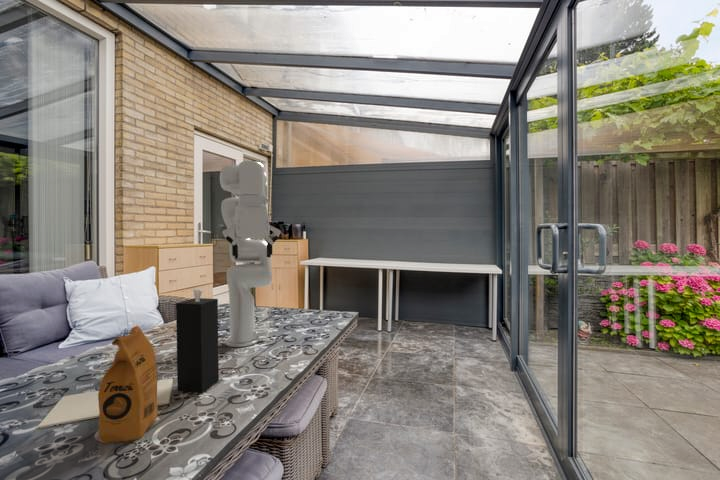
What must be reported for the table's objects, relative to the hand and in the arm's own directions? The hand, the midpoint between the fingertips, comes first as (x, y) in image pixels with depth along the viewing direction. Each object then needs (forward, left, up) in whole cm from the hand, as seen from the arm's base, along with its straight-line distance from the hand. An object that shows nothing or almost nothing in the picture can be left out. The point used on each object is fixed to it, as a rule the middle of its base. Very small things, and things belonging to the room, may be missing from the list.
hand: (252, 257), depth 105 cm
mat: (+36, +1, -37) cm, 51 cm away
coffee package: (+30, +18, -37) cm, 50 cm away
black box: (+16, +1, -37) cm, 40 cm away
